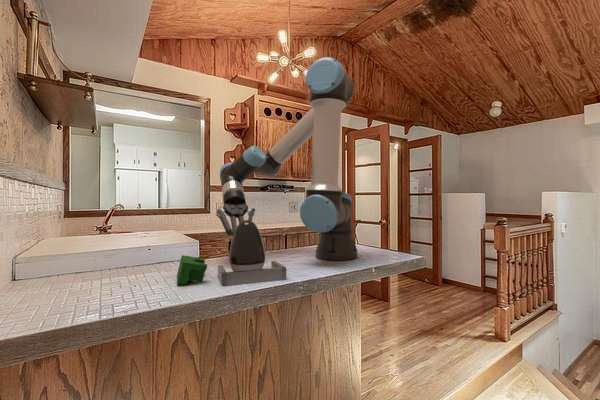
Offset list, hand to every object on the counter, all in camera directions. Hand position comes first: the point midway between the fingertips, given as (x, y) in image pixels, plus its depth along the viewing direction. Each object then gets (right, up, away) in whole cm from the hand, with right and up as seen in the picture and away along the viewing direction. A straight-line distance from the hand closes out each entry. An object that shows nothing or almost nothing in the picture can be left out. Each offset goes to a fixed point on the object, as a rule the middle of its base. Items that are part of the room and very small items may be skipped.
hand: (242, 251), depth 90 cm
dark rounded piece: (+3, -6, -5) cm, 8 cm away
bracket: (+4, -5, -10) cm, 12 cm away
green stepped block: (-11, -6, -11) cm, 17 cm away
